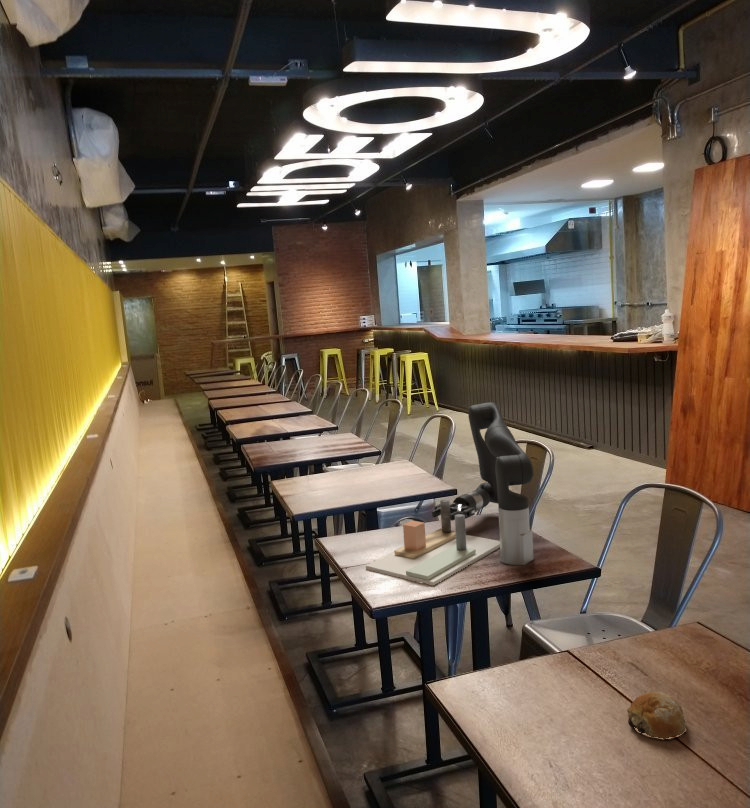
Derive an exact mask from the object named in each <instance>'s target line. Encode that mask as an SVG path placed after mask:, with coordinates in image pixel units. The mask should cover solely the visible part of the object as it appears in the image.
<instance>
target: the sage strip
mask: <svg viewBox="0 0 750 808" xmlns="http://www.w3.org/2000/svg"><path fill="white" fill-rule="evenodd" d="M454 526H455V530H454V531H456V545H454V546H452V547H450V548H448V549H446V550H445V551H443V552H441V553H439V554H437V555H435V556H433V557H431V558H429V559H428V560H426V561H424V562H422V563H420V564H418V565H416V566H414V567H412V568H411V569H409V570H407V571H406V575H409V576H413V577H417V578H421V579H425V580H429V579H431V578H433V577H434V576H436V575H438V574H440V573H441V572H443V571H445V570H447V569H448V568H450V567H452V566H454V565H455V564H457V563H459V562H461V561H462V560H464V559H466V558H468V557H470V556H471V555H473V554H475V553H476V549H471V548H467V547H466V535H467V531H466V519H465V515H462V514H458V515H455V520H454Z"/></svg>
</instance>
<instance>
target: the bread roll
mask: <svg viewBox="0 0 750 808" xmlns="http://www.w3.org/2000/svg"><path fill="white" fill-rule="evenodd" d="M626 711H627V713H628V715H627V716H628V717H627V718H628V721H627V722H628V725H629V727H631V728H632V729H634V727H635V728H637V729H638V731H639V732H641V733H646V734H647V735H649V736H651V737H658V738H663V739H666V738H669V737H673V736H677V735H680V734H682V733H683V732H684V731H685V728H686V727H687V726H686V721H685V719H684V718H685V716H684V715H685V714H684V711H683V709H682V705H681V704H680V702H679V701H677V699H676V698H674V697H673V696H672V695H670V694H667V693H666V692H664V691H651V692H650V691H649V692H646V693H643V694H642V695H639V696H638V697H636V698H635V699H634V700H632V702H631V704H630V706H629V707H628V708H627V710H626ZM683 734H684V733H683Z"/></svg>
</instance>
